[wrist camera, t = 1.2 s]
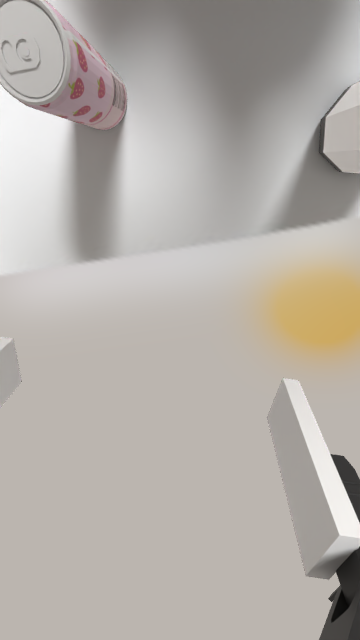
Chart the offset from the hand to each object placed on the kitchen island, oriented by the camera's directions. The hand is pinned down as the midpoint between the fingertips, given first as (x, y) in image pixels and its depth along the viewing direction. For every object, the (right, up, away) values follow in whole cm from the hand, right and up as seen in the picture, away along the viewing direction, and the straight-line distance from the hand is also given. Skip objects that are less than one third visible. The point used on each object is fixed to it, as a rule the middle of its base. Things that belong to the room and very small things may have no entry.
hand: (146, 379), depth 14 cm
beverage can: (-7, +27, +16) cm, 32 cm away
